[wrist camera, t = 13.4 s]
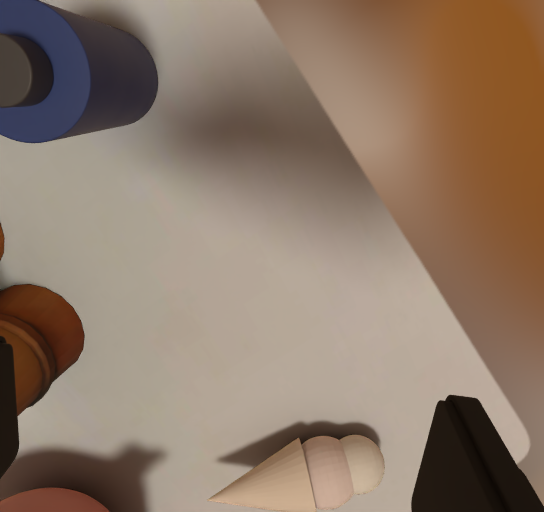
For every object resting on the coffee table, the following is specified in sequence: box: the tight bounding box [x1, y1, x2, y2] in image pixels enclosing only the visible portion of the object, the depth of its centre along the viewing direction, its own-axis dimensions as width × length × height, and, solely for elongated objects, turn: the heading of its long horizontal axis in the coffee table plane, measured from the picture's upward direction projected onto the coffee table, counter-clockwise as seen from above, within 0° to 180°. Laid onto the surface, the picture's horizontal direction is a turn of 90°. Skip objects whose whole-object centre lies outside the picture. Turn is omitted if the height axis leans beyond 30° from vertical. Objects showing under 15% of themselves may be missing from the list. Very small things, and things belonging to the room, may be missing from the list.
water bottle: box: [0, 0, 158, 143], centre depth 27 cm, size 6×6×14 cm
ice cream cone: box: [207, 435, 385, 512], centre depth 40 cm, size 6×6×15 cm
